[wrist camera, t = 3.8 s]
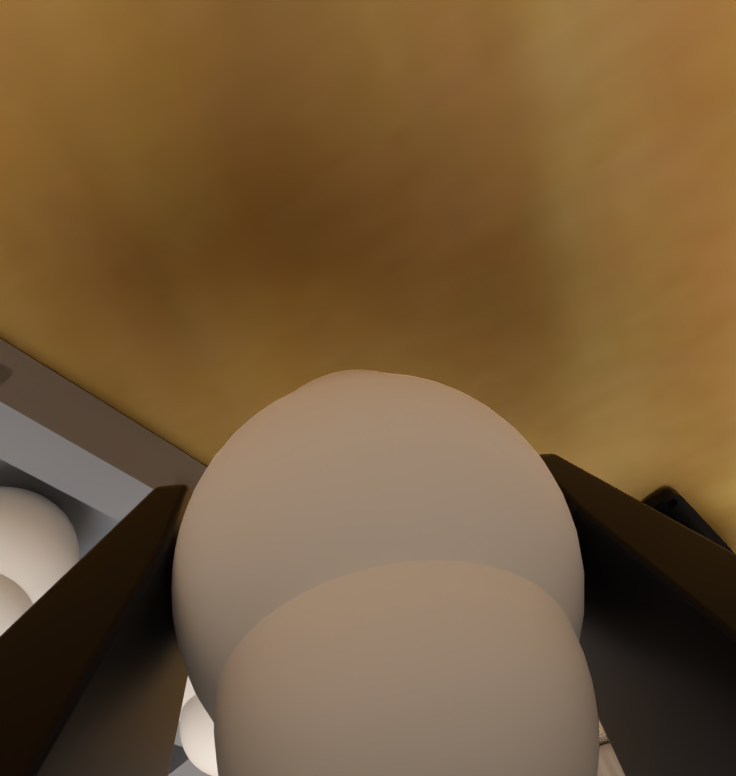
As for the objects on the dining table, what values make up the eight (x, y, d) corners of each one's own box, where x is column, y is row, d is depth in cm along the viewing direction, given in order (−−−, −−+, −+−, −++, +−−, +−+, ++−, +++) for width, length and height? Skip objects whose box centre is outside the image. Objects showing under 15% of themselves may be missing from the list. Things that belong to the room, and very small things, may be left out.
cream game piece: (551, 433, 9) (879, 862, 4) (356, 593, 10) (424, 1074, 5) (350, 240, 7) (517, 616, 2) (137, 465, 8) (-80, 1045, 3)
